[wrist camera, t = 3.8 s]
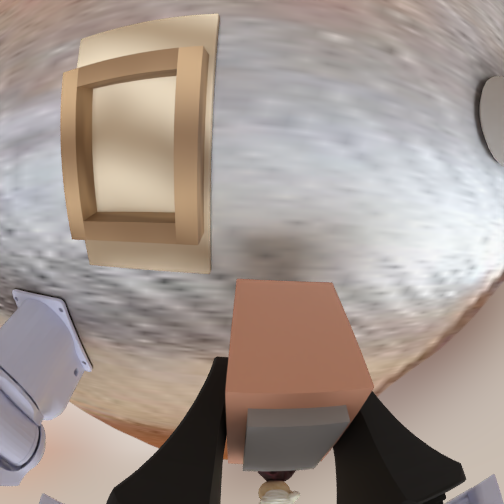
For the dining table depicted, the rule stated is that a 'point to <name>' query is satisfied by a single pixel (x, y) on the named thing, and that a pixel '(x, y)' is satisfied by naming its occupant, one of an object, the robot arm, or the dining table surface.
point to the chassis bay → (142, 144)
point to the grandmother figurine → (277, 488)
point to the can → (493, 116)
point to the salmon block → (290, 375)
